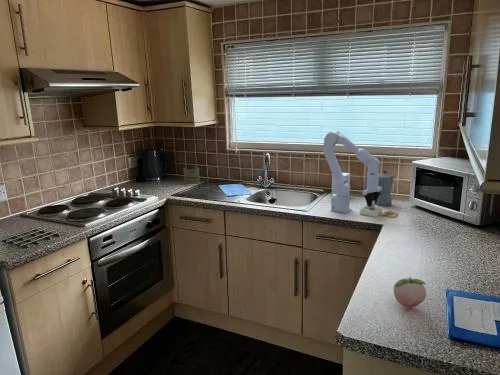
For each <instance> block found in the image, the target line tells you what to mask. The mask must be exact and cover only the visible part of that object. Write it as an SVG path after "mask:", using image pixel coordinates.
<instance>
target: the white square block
mask: <svg viewBox="0 0 500 375" xmlns="http://www.w3.org/2000/svg"><path fill="white" fill-rule="evenodd" d="M342 174H343V176H344V177H345V178H346V180H347V182H348V183H349V184H350V185H351V172H342ZM348 192H349V194H351V189H350V190H349V191H348ZM333 194H336V186H335V179H334V177H333V174H332V173H331V196H332V195H333Z"/></svg>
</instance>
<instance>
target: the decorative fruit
mask: <svg viewBox="0 0 500 375" xmlns="http://www.w3.org/2000/svg"><path fill="white" fill-rule="evenodd" d="M424 285H427V283H426V282H425V281H423V280H421V279H419V278H412V277H411V276H409V278H408V277H406V278H400V279H398V280H397V282H395V283H394V285H393V295H394V298H395V300H396V302H398V303H399V304H400V305H401V306H403V307H406V308H407V309H408V308H414V307H417V306H419V305H420V304H422V303H424V300H425V299H426V298H427V290H426V287H425V286H424Z"/></svg>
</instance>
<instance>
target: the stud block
mask: <svg viewBox="0 0 500 375" xmlns="http://www.w3.org/2000/svg"><path fill="white" fill-rule="evenodd" d="M398 215H399V212H397V211H393V210H383V211H382V213H381V214H380V215H379V216H380V217H386V218H392V219H395V218H396V217H397V216H398Z"/></svg>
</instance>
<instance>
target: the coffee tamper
mask: <svg viewBox="0 0 500 375" xmlns="http://www.w3.org/2000/svg"><path fill="white" fill-rule="evenodd" d="M375 206H376V205H375V200H372V206H371V207H369V208H368V209H367V210H373V211H376V209H375Z"/></svg>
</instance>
